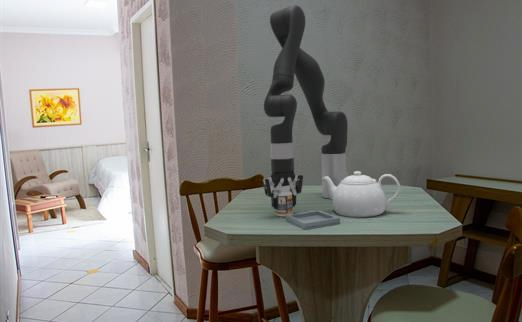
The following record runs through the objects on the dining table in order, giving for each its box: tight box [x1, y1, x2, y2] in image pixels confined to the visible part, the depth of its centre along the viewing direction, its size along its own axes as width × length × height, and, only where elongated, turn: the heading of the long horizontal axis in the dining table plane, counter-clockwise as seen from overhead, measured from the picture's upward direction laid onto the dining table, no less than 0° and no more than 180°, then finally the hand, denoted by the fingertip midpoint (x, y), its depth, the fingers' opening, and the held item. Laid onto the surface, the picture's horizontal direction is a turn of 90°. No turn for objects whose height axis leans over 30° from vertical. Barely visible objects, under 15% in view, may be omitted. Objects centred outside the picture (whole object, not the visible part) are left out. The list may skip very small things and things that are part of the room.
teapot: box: [320, 170, 401, 218], centre depth 139 cm, size 19×18×14 cm
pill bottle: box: [275, 185, 294, 218], centre depth 139 cm, size 6×6×10 cm
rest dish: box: [285, 209, 341, 230], centre depth 129 cm, size 12×12×2 cm
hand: (284, 207), depth 140 cm, fingers closed on pill bottle, 5 cm apart
